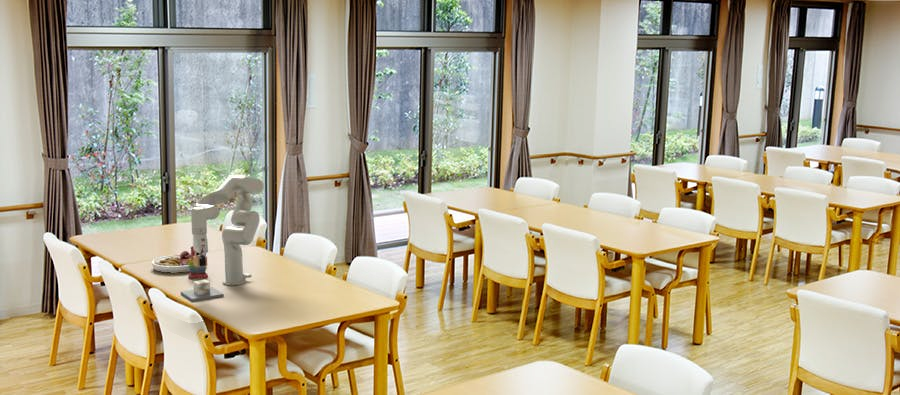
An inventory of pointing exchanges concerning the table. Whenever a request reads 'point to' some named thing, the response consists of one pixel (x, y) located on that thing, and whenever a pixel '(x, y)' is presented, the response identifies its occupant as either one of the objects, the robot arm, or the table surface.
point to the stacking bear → (196, 268)
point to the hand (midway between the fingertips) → (200, 264)
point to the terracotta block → (197, 261)
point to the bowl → (173, 263)
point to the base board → (195, 297)
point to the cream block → (201, 287)
